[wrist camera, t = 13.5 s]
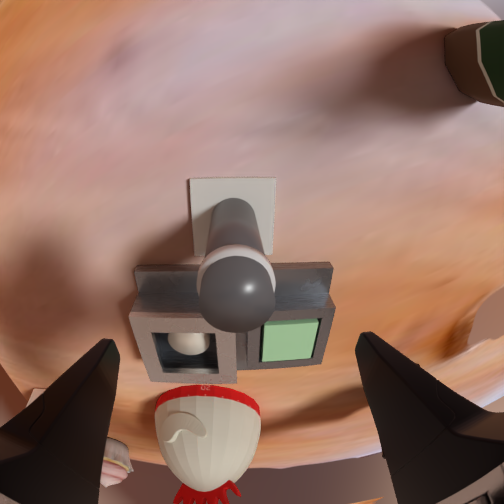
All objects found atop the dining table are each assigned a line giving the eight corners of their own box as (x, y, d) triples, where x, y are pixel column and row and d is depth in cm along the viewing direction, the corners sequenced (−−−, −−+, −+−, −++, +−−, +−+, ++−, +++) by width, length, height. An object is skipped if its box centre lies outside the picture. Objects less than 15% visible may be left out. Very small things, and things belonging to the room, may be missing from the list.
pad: (271, 252, 22) (272, 254, 22) (195, 253, 22) (194, 256, 22) (275, 177, 20) (276, 178, 19) (190, 178, 19) (189, 179, 19)
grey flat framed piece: (310, 358, 29) (319, 388, 25) (161, 362, 28) (155, 393, 24) (329, 261, 23) (346, 290, 20) (137, 265, 22) (122, 295, 18)
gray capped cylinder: (258, 195, 20) (283, 266, 11) (257, 241, 21) (277, 334, 13) (207, 195, 20) (189, 268, 11) (209, 241, 21) (198, 336, 12)
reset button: (211, 344, 25) (211, 355, 24) (173, 343, 25) (171, 354, 24) (208, 314, 23) (207, 325, 22) (167, 314, 23) (164, 325, 22)
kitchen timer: (136, 393, 31) (117, 497, 17) (235, 374, 29) (242, 502, 16) (189, 438, 37) (186, 520, 24) (272, 423, 36) (285, 515, 22)
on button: (305, 342, 26) (310, 358, 24) (260, 345, 26) (262, 361, 24) (312, 307, 24) (318, 322, 22) (262, 309, 24) (264, 325, 22)
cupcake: (106, 450, 41) (99, 489, 32) (81, 429, 37) (70, 473, 28) (144, 454, 41) (139, 497, 32) (121, 434, 37) (112, 483, 28)
